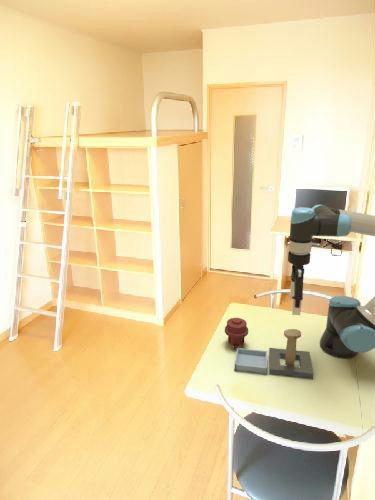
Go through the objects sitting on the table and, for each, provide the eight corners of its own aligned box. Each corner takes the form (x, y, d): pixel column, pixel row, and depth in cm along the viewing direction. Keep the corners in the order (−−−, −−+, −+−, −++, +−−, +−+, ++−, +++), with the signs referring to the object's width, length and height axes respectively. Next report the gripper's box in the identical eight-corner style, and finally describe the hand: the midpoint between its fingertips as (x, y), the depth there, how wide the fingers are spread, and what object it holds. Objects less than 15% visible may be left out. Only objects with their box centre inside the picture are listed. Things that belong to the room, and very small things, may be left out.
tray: (266, 357, 145) (267, 351, 144) (266, 374, 135) (267, 368, 134) (236, 354, 148) (237, 347, 147) (234, 371, 137) (234, 364, 136)
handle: (300, 368, 138) (303, 335, 134) (284, 370, 138) (287, 336, 133) (294, 360, 143) (297, 328, 138) (279, 362, 142) (282, 329, 137)
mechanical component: (248, 339, 158) (247, 353, 148) (225, 337, 160) (223, 350, 150) (249, 315, 154) (248, 327, 144) (226, 313, 156) (223, 325, 146)
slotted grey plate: (308, 356, 145) (309, 351, 144) (312, 379, 132) (313, 373, 131) (268, 352, 148) (269, 347, 147) (269, 374, 135) (269, 368, 135)
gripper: (286, 240, 137) (283, 290, 144) (290, 263, 114) (285, 321, 121) (306, 241, 136) (302, 291, 142) (315, 265, 112) (308, 323, 119)
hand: (294, 305), depth 132 cm, fingers open, 13 cm apart
